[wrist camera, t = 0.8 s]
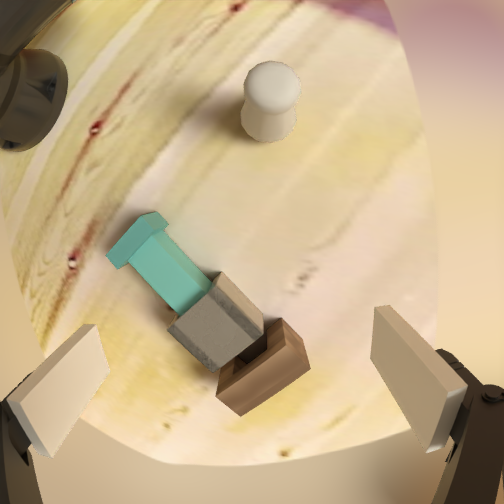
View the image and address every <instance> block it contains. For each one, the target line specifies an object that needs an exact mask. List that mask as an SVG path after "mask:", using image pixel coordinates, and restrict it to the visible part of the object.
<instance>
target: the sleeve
mask: <svg viewBox="0 0 504 504" xmlns="http://www.w3.org/2000/svg"><path fill="white" fill-rule="evenodd" d="M167 331H168V332H169V333H170V334H171V335H172V336H173V337H174V338H175V339H176V340H177V341H178V342H180V343H181V344H182V345H183V346H184V347H185V348H186V349H187V350H188V351H189V352H190V353H191V354H192V355H193V356H194V357H196V358H197V359H198V360H199V361H200V362H201V363H202V364H203V365H204V366H205V367H207V368H208V369H209V370H210V371H211V372H212V373H214V372H215V371H217V370H218V369H219V368H221V367H222V366H223V365H225V364H226V363H227V362H229V361H230V360H231V359H233V358H234V357H235V356H236V355H238V354H239V353H240V352H242V351H243V350H244V349H246V348H247V347H248V346H249V345H251V344H252V343H253V342H255V341H256V340H257V339H258V338H260V337H261V336H262V335H263V334H264V333H263V313H262V312H261V311H260V310H259V309H258V308H257V307H256V306H255V305H254V304H253V303H252V302H251V301H250V300H249V299H248V298H247V297H246V296H245V295H244V294H243V293H242V292H241V291H240V290H239V289H238V288H237V287H236V286H235V284H234V283H233V282H232V281H231V280H230V279H229V278H228V277H227V276H226V275H225V274H224V273H223V272H221V273H220V274H219V275H218V276H216V277H215V278H214V280H213V282H212V285H211V287H210V289H209V291H208V292H207V293H206V294H205V295H203V296H202V297H201V298H200V299H199V300H198V301H197V302H196V303H195V304H193V305H192V306H191V307H190V308H189V309H188V310H187V311H186V312H184V313H183V314H182V315H181V316H179V315H178V314H176V316H175V317H174V319H173V320H172V322H171V323H170V325H169V327H168V328H167Z"/></svg>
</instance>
